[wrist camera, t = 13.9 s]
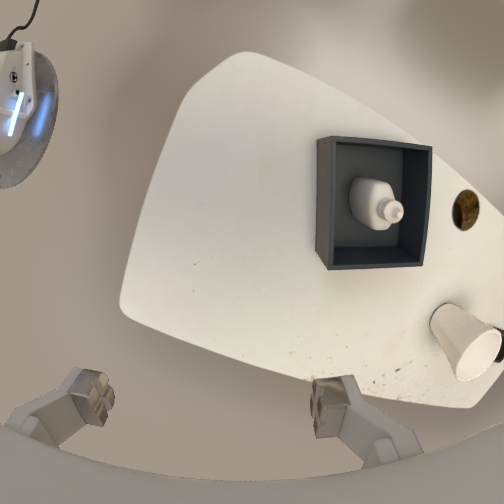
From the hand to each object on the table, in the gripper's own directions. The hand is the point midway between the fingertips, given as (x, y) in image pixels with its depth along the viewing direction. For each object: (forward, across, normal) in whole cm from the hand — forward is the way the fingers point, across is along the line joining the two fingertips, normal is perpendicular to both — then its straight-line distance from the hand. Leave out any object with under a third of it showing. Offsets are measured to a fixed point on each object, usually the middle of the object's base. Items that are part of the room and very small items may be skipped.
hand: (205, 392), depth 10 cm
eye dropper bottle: (+31, -16, -3) cm, 35 cm away
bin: (+31, -17, -3) cm, 36 cm away
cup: (+31, -36, +18) cm, 51 cm away
